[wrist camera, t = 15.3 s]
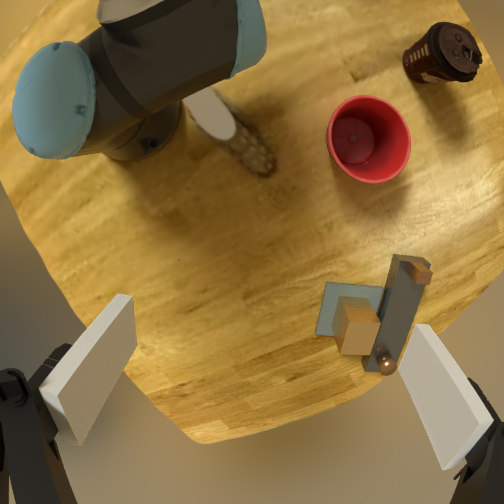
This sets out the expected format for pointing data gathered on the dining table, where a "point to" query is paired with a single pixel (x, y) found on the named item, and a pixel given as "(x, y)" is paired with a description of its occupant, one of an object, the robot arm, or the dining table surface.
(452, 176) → the dining table surface
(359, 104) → the flower pot
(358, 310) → the tan wooden block
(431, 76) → the coffee cup
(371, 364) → the plane body
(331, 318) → the mat
